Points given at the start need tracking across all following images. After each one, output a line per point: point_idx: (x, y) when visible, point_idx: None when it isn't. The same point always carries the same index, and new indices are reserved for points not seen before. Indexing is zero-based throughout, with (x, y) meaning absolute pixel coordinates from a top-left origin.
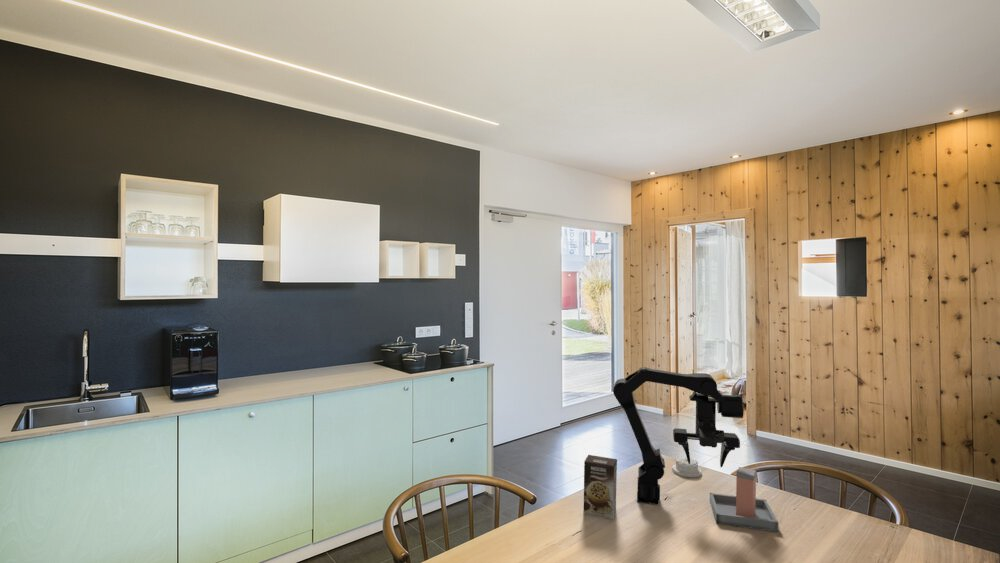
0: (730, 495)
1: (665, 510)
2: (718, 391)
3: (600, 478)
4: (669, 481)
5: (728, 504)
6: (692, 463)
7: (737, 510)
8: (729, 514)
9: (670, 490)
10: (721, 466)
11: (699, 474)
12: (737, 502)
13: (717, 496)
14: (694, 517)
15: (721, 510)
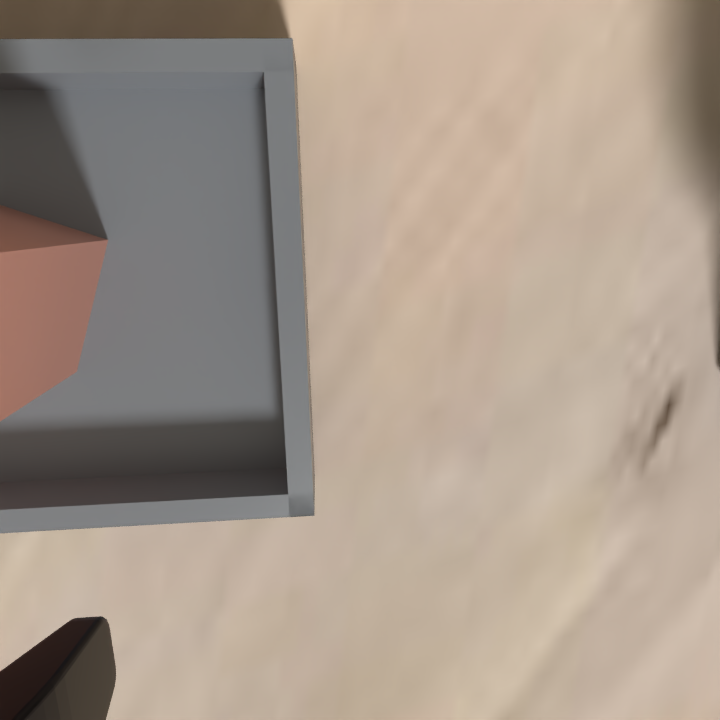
0: (124, 524)
1: (703, 189)
2: None
3: None
4: (587, 716)
5: (162, 436)
6: None
7: (75, 237)
8: (157, 69)
9: (602, 570)
10: (81, 626)
11: None
12: (37, 242)
13: (247, 490)
14: (474, 131)
15: (231, 295)
